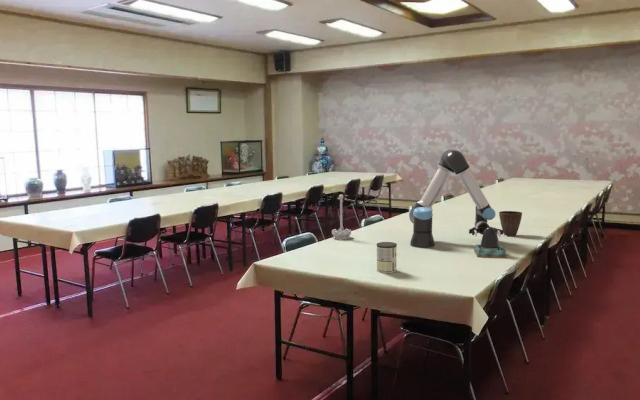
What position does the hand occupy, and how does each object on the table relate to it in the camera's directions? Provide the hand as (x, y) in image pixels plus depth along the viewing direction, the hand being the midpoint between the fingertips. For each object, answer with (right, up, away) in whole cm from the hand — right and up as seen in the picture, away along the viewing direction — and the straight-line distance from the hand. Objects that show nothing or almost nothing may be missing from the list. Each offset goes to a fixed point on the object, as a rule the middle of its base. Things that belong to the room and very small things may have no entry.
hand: (487, 234), depth 318 cm
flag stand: (-86, -6, +45) cm, 97 cm away
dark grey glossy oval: (-1, -10, -8) cm, 13 cm away
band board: (-1, -11, -8) cm, 14 cm away
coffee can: (-66, -16, -43) cm, 80 cm away
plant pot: (+30, -4, +48) cm, 57 cm away
